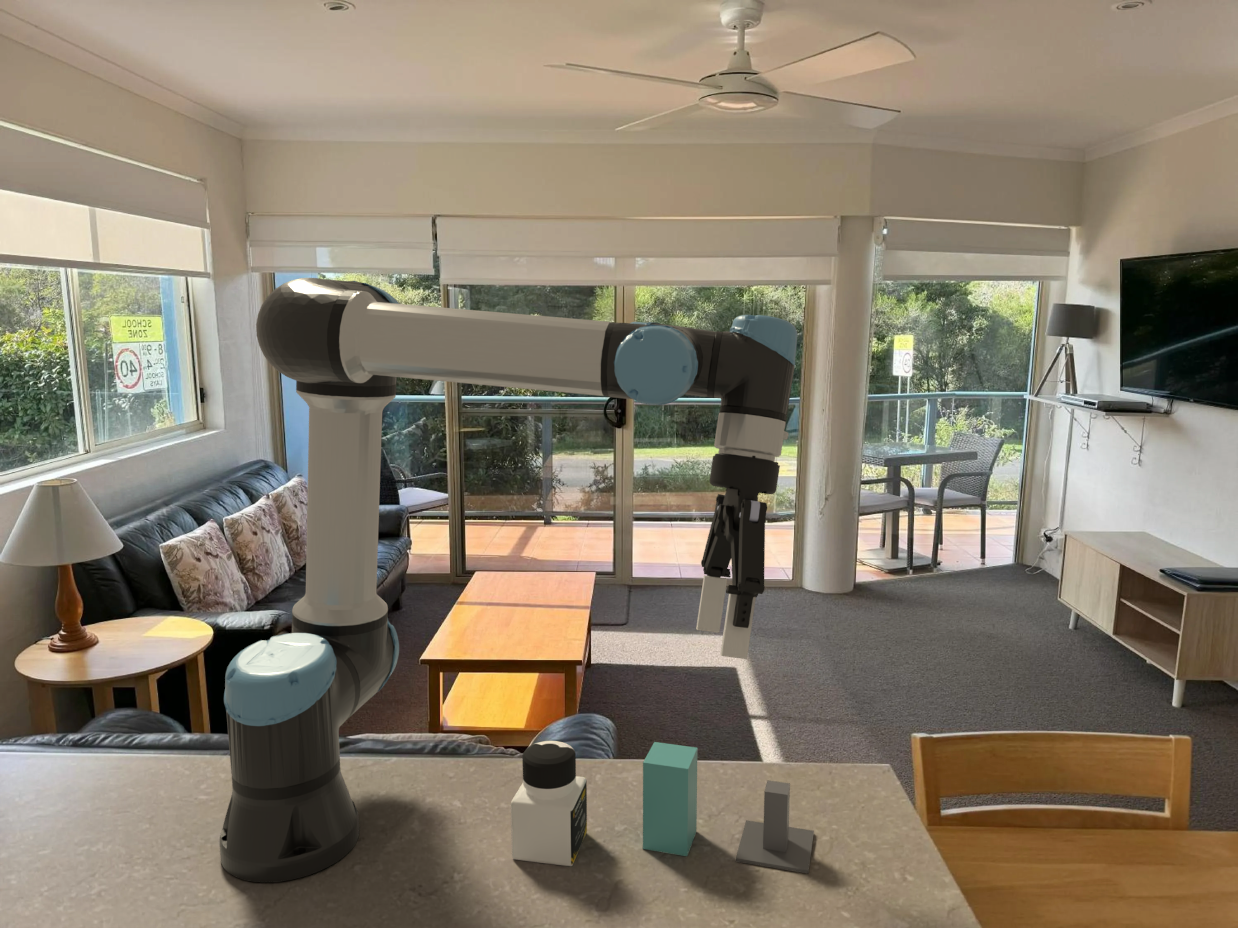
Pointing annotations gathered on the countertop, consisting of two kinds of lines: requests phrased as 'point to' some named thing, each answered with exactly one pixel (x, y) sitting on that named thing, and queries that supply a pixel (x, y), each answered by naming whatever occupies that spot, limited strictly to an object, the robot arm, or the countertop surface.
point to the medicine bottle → (549, 806)
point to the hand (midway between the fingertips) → (719, 643)
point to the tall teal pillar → (669, 798)
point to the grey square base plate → (776, 835)
